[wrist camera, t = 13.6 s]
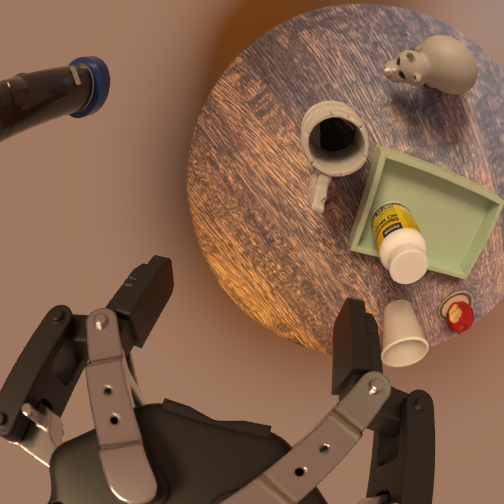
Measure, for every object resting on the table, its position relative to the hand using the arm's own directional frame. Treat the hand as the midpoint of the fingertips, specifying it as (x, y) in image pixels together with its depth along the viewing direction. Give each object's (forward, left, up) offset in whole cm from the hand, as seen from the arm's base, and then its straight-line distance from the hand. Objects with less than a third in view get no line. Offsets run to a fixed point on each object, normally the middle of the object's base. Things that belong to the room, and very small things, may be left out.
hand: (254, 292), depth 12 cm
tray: (+20, -4, -27) cm, 34 cm away
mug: (+3, +1, -27) cm, 27 cm away
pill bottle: (+15, -7, -26) cm, 31 cm away
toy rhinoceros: (+13, +15, -27) cm, 34 cm away
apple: (+36, -20, -27) cm, 49 cm away
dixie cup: (+24, -24, -27) cm, 43 cm away
